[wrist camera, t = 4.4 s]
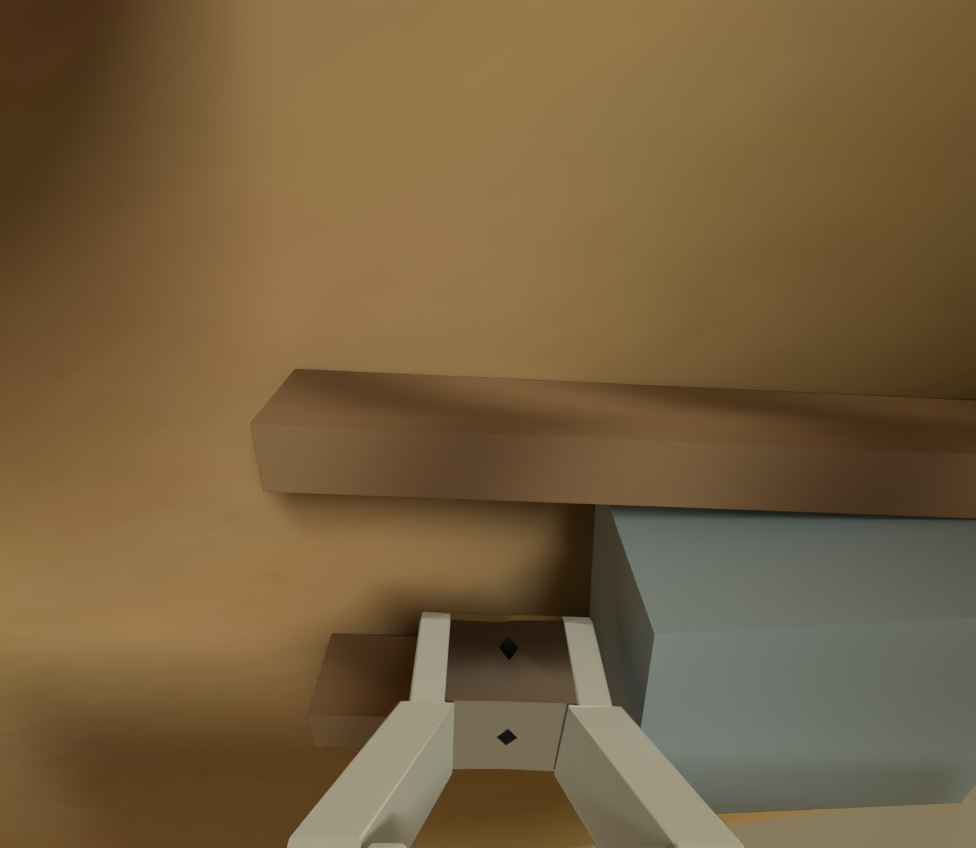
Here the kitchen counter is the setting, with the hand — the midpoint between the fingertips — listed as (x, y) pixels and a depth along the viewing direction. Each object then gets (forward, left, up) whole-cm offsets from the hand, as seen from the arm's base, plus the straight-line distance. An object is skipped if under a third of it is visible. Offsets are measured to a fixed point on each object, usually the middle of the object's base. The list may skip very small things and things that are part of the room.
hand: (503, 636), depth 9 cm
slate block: (+5, 0, -2) cm, 6 cm away
